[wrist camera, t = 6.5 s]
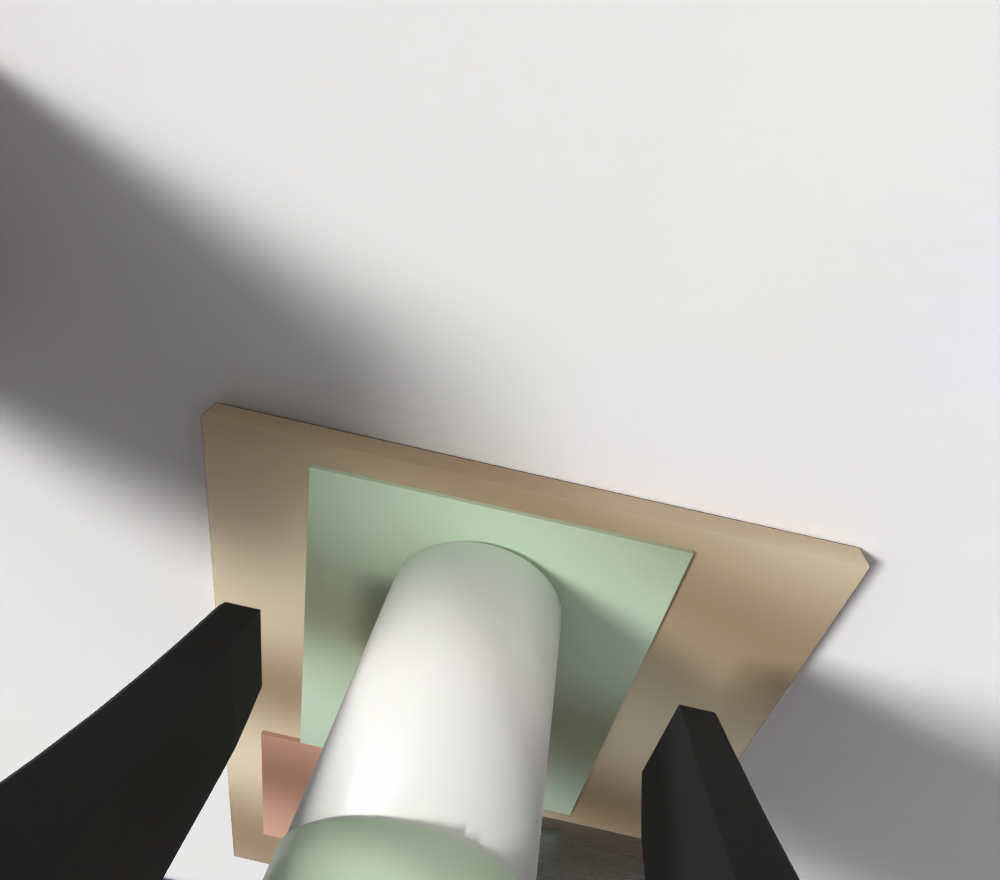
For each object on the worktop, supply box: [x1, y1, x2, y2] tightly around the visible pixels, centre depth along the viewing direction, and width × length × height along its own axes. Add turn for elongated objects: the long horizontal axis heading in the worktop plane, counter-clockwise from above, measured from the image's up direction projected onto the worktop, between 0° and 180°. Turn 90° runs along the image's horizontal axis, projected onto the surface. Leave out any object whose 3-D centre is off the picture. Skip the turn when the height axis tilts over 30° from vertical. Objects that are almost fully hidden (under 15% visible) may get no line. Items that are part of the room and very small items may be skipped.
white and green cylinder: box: [263, 541, 562, 880], centre depth 10 cm, size 4×4×6 cm
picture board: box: [201, 403, 870, 864], centre depth 15 cm, size 16×12×1 cm
